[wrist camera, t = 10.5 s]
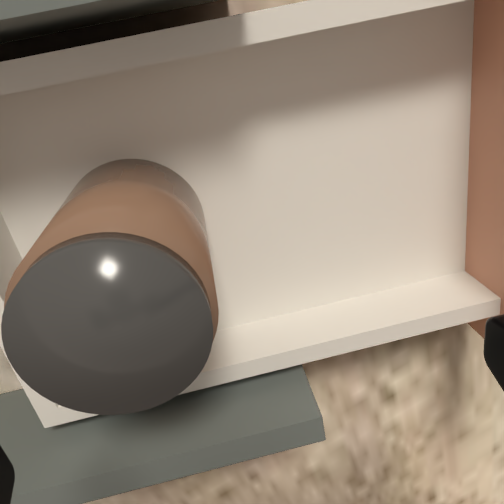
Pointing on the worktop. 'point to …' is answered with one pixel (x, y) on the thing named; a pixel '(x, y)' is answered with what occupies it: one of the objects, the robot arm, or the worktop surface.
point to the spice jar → (115, 294)
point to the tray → (289, 167)
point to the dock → (162, 416)
